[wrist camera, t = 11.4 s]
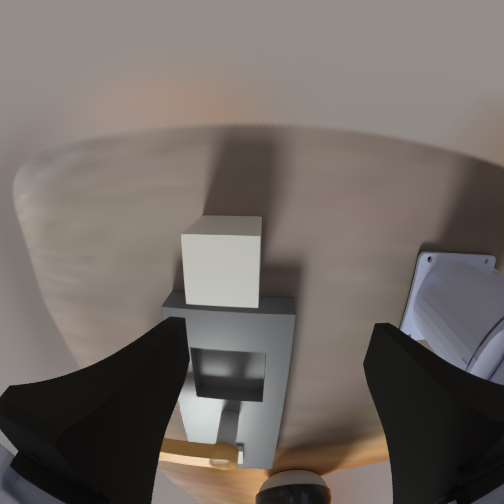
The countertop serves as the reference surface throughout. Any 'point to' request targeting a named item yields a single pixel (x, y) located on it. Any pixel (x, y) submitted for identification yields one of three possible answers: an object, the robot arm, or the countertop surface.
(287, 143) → the countertop surface
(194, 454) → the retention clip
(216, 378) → the grey recessed block
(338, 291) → the countertop surface
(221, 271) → the plug
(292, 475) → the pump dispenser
